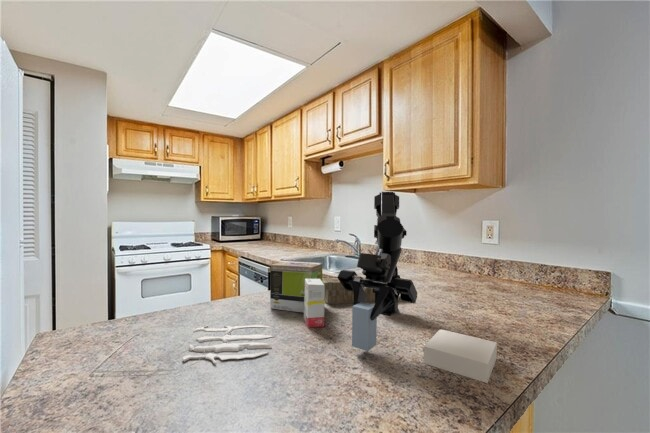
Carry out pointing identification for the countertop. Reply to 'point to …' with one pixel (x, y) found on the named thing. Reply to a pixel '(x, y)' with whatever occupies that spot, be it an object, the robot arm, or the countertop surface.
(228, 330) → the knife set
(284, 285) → the tea box
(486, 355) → the base block
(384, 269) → the robot arm
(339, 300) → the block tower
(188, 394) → the countertop surface
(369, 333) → the blue pillar
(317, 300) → the ink box
